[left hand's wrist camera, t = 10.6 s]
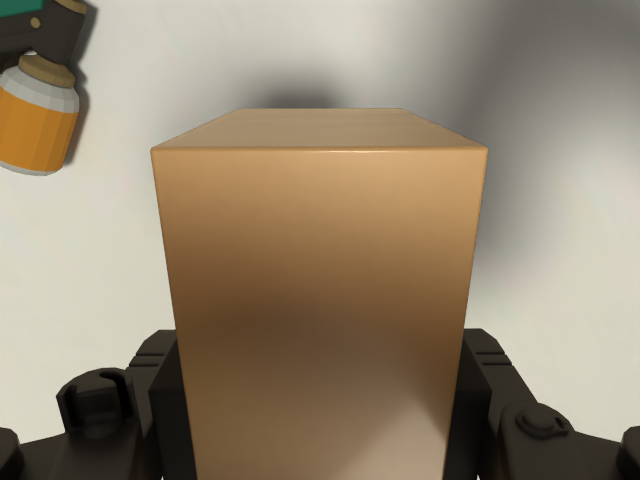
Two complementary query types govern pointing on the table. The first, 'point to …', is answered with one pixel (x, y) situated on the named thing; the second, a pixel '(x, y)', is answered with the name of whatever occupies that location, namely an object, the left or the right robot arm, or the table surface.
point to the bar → (319, 289)
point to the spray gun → (38, 83)
